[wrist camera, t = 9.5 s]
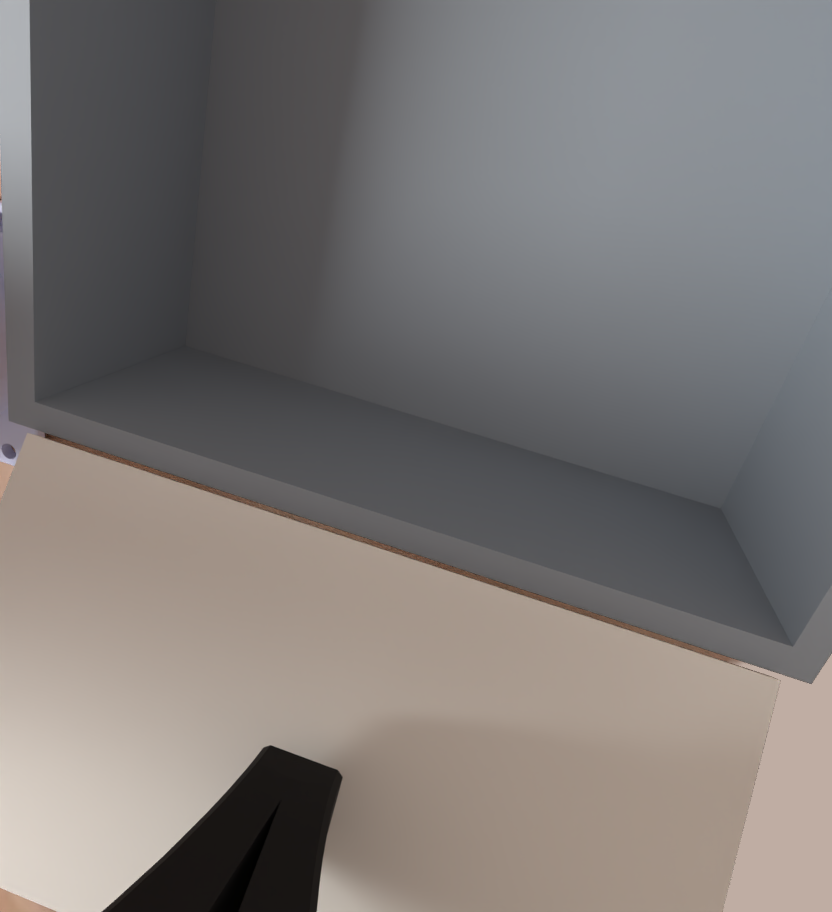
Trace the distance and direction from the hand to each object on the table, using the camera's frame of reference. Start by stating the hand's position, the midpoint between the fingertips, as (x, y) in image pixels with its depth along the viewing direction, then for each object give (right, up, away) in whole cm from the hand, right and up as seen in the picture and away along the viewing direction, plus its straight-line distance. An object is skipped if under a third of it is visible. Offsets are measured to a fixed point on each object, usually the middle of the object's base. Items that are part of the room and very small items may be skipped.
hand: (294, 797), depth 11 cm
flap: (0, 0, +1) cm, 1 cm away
